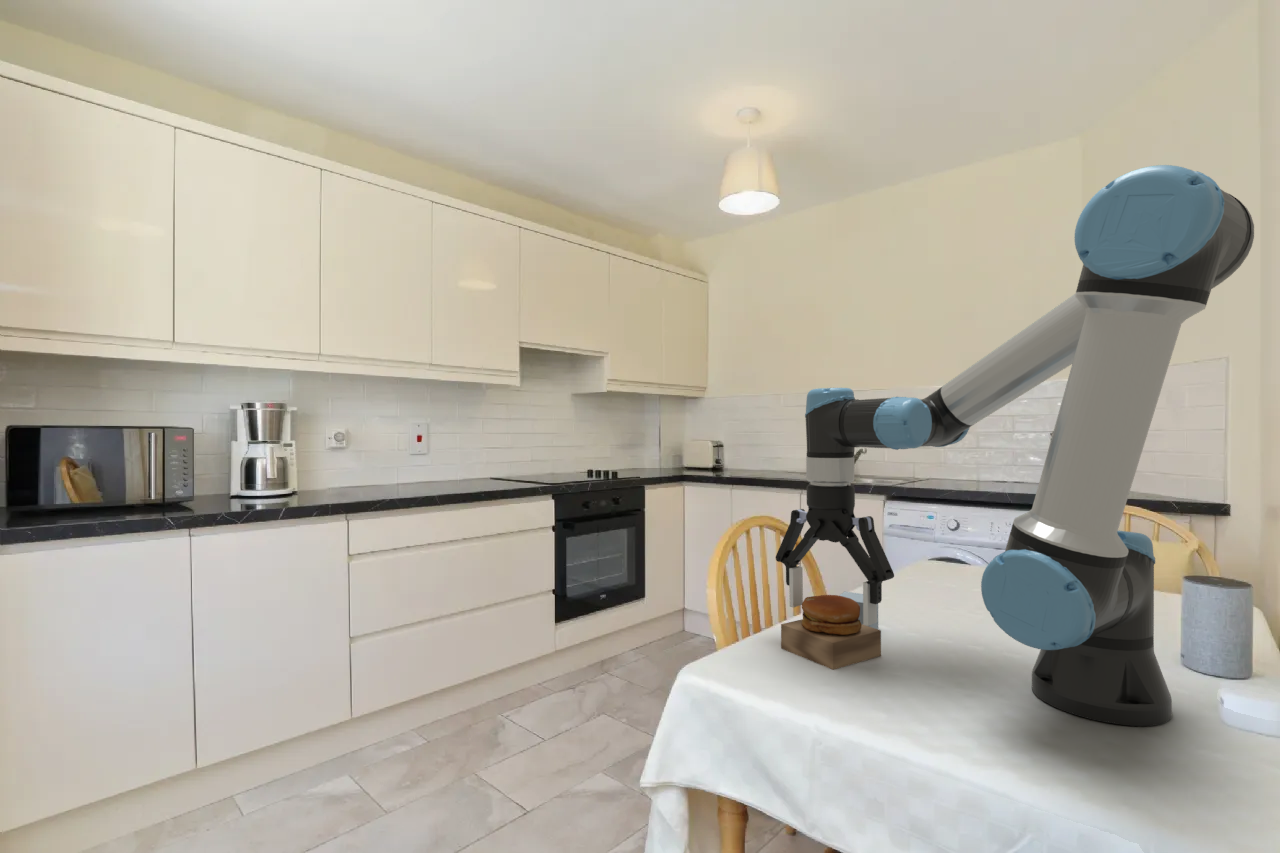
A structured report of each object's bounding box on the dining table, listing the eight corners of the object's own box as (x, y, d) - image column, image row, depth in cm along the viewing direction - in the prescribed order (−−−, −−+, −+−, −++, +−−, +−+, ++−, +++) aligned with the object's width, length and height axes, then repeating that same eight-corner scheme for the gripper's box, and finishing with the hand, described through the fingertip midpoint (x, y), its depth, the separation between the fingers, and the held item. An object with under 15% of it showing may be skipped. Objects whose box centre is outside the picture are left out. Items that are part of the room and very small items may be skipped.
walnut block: (881, 658, 103) (880, 630, 103) (833, 672, 97) (832, 643, 97) (827, 639, 112) (827, 613, 112) (781, 651, 106) (781, 624, 106)
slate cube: (878, 629, 116) (878, 595, 116) (869, 638, 111) (869, 603, 111) (844, 623, 120) (844, 591, 120) (834, 632, 115) (834, 598, 115)
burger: (867, 637, 99) (867, 607, 99) (805, 636, 100) (805, 606, 100) (854, 618, 109) (854, 590, 109) (798, 617, 110) (797, 590, 110)
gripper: (916, 486, 98) (917, 626, 98) (781, 477, 116) (782, 595, 116) (892, 490, 93) (893, 637, 93) (754, 480, 112) (755, 603, 112)
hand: (831, 614), depth 105 cm, fingers open, 13 cm apart
